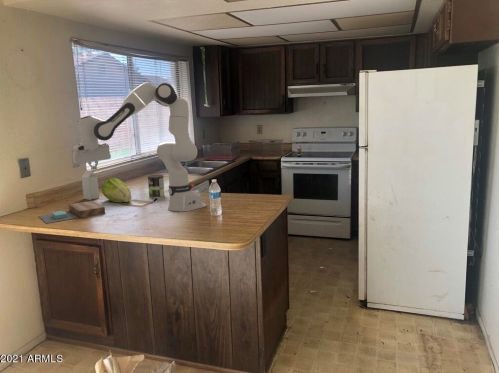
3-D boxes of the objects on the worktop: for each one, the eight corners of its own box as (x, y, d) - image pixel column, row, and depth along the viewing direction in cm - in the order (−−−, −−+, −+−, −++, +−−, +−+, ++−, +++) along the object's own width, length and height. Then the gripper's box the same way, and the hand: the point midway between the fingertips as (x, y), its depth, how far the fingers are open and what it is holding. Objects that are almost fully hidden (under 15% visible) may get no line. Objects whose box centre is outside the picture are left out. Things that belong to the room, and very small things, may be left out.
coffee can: (153, 199, 277) (151, 177, 274) (146, 196, 285) (145, 176, 282) (167, 196, 283) (166, 175, 280) (160, 194, 291) (159, 174, 288)
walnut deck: (93, 207, 260) (92, 200, 259) (105, 213, 242) (104, 206, 241) (69, 211, 251) (68, 204, 251) (80, 218, 234) (79, 211, 233)
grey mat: (68, 211, 250) (68, 211, 250) (77, 218, 234) (77, 217, 234) (38, 216, 241) (38, 216, 241) (46, 223, 225) (46, 223, 225)
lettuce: (139, 208, 274) (116, 215, 264) (121, 190, 289) (99, 197, 279) (138, 188, 266) (114, 196, 257) (120, 172, 281) (97, 178, 272)
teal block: (51, 212, 239) (52, 215, 240) (55, 215, 232) (55, 219, 233) (62, 210, 243) (63, 214, 243) (67, 213, 236) (67, 217, 236)
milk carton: (90, 200, 280) (87, 171, 276) (83, 199, 284) (80, 171, 280) (99, 197, 286) (96, 170, 282) (92, 196, 290) (90, 169, 286)
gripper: (106, 142, 246) (110, 165, 249) (70, 147, 234) (74, 171, 237) (110, 143, 241) (114, 166, 244) (73, 148, 229) (77, 173, 232)
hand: (94, 169), depth 241 cm, fingers closed
